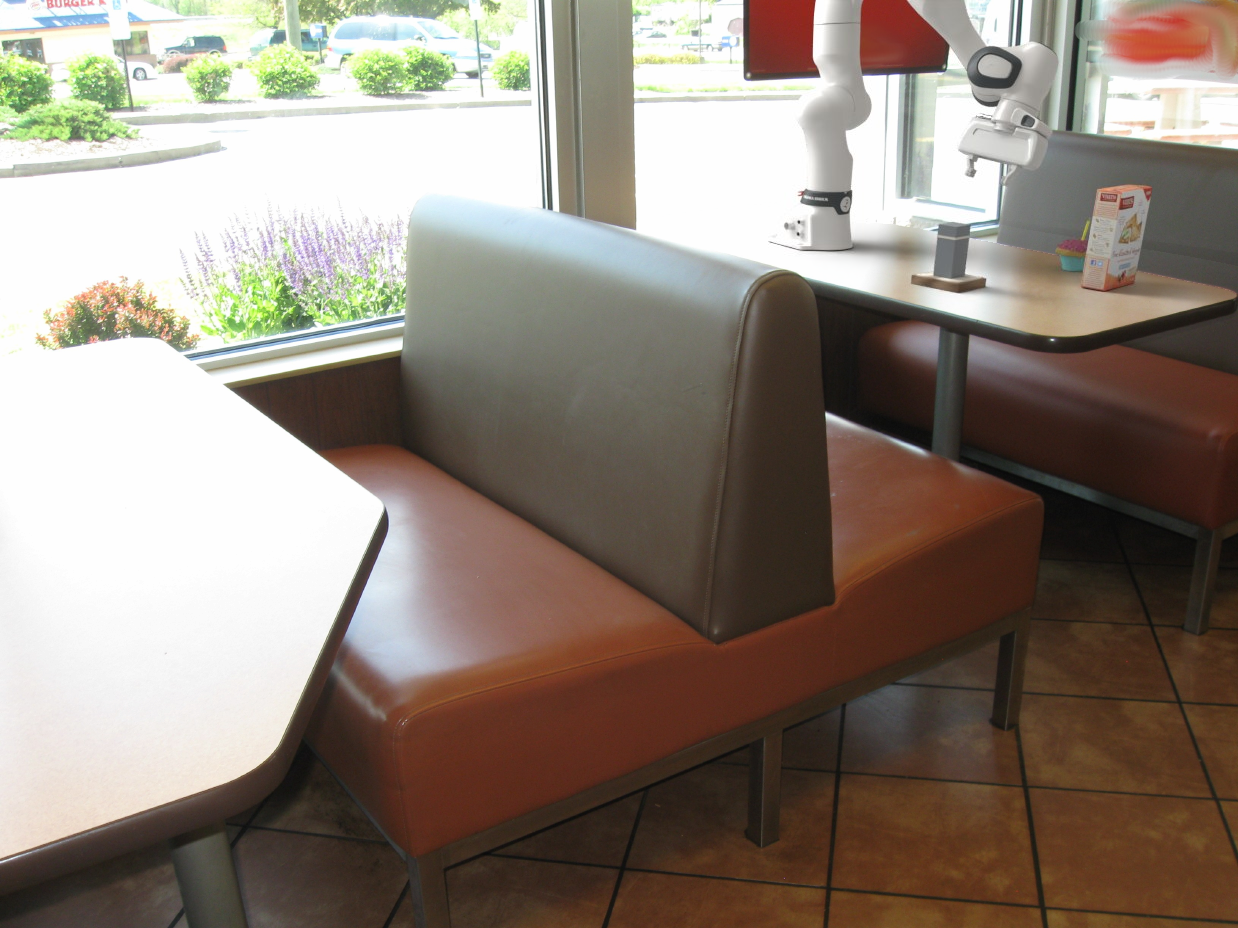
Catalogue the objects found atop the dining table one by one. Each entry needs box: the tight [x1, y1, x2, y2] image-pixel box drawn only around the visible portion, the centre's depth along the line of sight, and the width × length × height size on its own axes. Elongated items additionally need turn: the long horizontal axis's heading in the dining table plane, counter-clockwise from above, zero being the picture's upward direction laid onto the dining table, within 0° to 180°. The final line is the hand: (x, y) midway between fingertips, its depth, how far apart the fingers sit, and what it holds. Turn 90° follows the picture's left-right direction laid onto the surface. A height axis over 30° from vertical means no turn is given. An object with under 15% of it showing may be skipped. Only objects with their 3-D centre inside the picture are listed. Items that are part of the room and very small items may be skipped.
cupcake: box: [1055, 217, 1091, 272], centre depth 251 cm, size 9×8×12 cm
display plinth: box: [910, 270, 987, 294], centre depth 237 cm, size 12×10×2 cm
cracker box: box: [1080, 184, 1153, 292], centre depth 234 cm, size 14×6×21 cm, turn 131°
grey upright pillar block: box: [933, 221, 972, 279], centre depth 235 cm, size 5×5×11 cm
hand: (986, 180), depth 243 cm, fingers open, 8 cm apart
